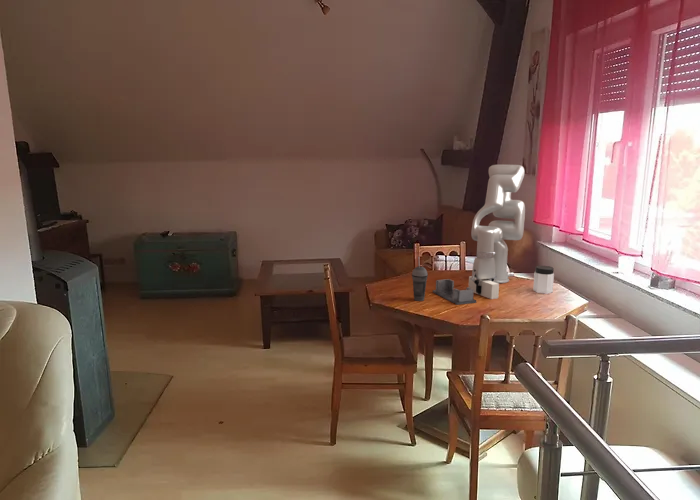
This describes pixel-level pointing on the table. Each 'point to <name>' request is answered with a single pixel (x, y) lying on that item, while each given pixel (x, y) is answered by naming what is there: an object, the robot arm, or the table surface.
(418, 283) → the beverage cup
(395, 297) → the table surface
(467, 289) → the bracket board
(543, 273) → the jar
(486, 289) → the rail
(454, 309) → the table surface
